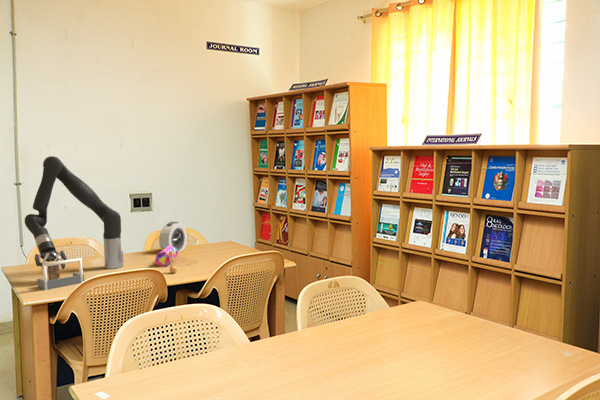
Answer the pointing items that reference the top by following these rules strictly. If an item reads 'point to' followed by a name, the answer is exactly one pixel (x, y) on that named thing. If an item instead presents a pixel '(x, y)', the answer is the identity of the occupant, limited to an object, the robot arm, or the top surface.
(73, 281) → the grey basket with handle
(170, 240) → the alarm clock
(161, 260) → the pencil case
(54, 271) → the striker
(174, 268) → the figurine
